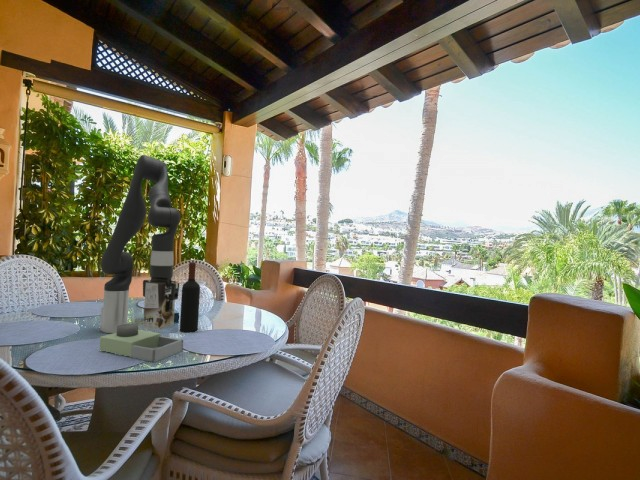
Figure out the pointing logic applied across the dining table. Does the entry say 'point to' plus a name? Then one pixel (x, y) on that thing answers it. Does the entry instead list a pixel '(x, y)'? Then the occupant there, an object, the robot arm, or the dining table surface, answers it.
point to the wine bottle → (190, 302)
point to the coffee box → (157, 306)
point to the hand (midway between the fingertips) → (159, 310)
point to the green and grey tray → (140, 343)
